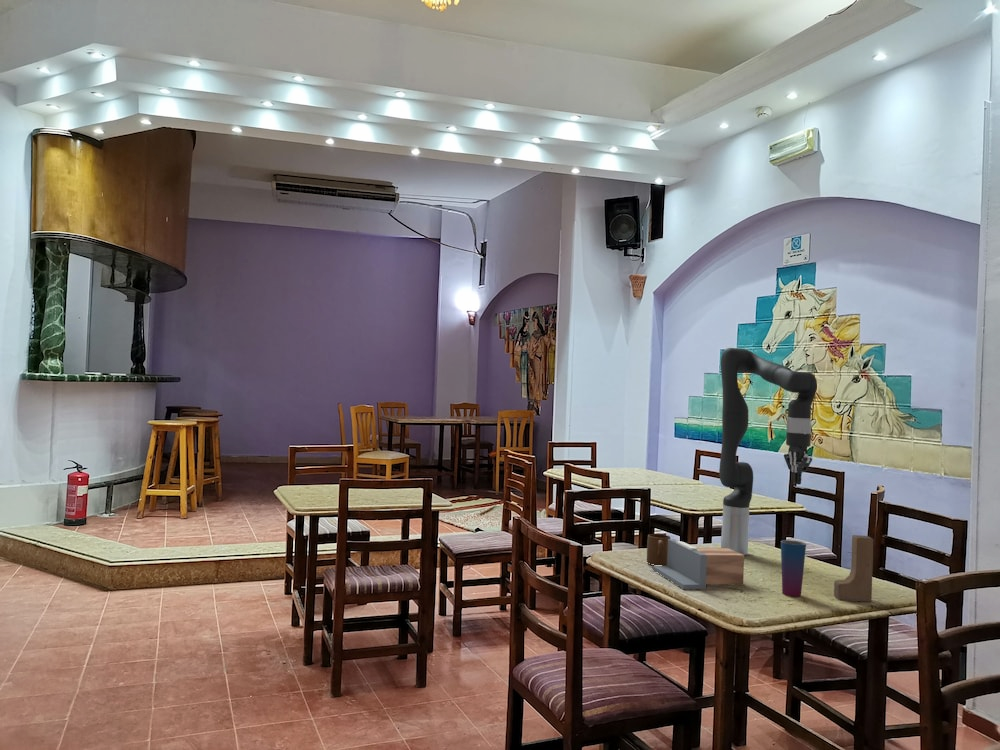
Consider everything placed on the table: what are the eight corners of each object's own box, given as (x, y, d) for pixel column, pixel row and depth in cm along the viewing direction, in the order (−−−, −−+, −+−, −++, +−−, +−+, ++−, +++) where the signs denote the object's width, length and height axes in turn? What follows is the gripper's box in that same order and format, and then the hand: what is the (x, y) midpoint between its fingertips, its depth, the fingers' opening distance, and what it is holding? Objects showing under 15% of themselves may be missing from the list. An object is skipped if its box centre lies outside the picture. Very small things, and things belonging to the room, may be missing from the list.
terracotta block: (682, 576, 226) (683, 547, 226) (726, 576, 229) (727, 548, 229) (696, 585, 216) (698, 554, 216) (743, 585, 219) (744, 555, 219)
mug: (672, 570, 233) (673, 541, 233) (648, 569, 234) (649, 539, 234) (668, 562, 245) (669, 534, 245) (645, 560, 246) (646, 533, 246)
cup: (806, 594, 210) (808, 542, 211) (801, 599, 205) (803, 545, 205) (782, 590, 214) (783, 539, 215) (776, 594, 209) (778, 542, 209)
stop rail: (652, 570, 232) (653, 537, 232) (672, 570, 233) (673, 537, 233) (683, 589, 209) (684, 552, 210) (705, 589, 210) (706, 553, 211)
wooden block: (838, 599, 206) (840, 536, 206) (833, 595, 210) (835, 533, 211) (871, 602, 205) (873, 538, 205) (866, 598, 209) (868, 535, 210)
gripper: (777, 430, 246) (775, 481, 246) (800, 432, 233) (798, 486, 233) (797, 431, 248) (795, 481, 247) (821, 433, 235) (819, 487, 234)
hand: (796, 484), depth 240 cm, fingers closed
